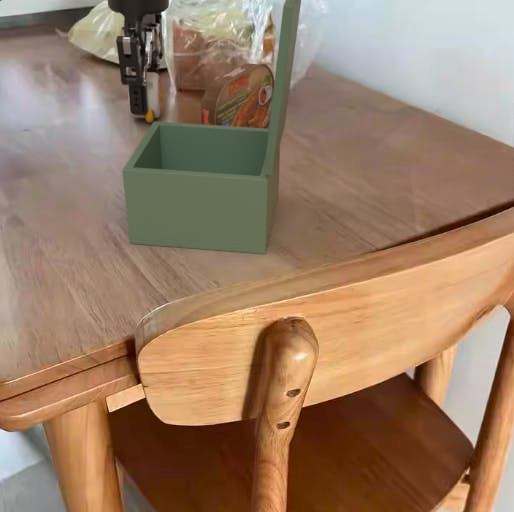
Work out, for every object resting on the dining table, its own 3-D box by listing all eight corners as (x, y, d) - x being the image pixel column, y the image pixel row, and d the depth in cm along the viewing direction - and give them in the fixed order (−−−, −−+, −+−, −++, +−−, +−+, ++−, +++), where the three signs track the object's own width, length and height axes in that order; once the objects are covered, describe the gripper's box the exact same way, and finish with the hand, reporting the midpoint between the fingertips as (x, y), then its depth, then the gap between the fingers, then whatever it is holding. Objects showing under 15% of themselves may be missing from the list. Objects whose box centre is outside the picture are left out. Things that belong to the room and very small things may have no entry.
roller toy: (165, 108, 102) (163, 66, 98) (162, 125, 97) (160, 81, 93) (133, 108, 102) (130, 65, 98) (129, 125, 97) (125, 81, 93)
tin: (218, 159, 89) (217, 90, 84) (197, 154, 90) (194, 85, 85) (276, 121, 100) (278, 57, 95) (256, 117, 101) (257, 53, 96)
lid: (283, 5, 58) (293, 6, 58) (296, -27, 67) (304, -26, 67) (263, 174, 66) (272, 176, 66) (277, 124, 76) (284, 125, 76)
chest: (129, 243, 73) (122, 170, 68) (158, 188, 83) (153, 121, 78) (265, 254, 71) (267, 180, 67) (278, 197, 81) (280, 129, 77)
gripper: (121, -46, 94) (131, 86, 104) (87, -23, 83) (103, 122, 93) (178, -43, 93) (183, 89, 104) (152, -20, 82) (161, 126, 92)
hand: (145, 104), depth 98 cm, fingers closed on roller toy, 6 cm apart
